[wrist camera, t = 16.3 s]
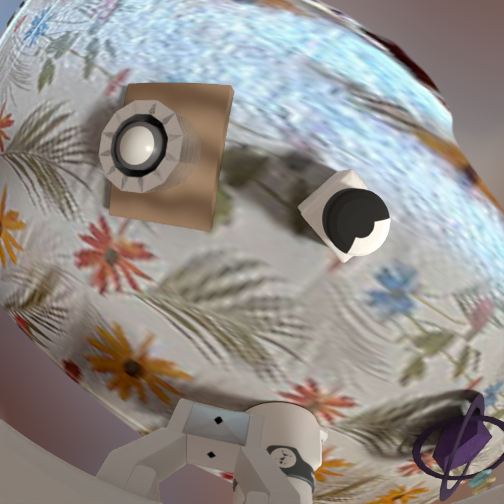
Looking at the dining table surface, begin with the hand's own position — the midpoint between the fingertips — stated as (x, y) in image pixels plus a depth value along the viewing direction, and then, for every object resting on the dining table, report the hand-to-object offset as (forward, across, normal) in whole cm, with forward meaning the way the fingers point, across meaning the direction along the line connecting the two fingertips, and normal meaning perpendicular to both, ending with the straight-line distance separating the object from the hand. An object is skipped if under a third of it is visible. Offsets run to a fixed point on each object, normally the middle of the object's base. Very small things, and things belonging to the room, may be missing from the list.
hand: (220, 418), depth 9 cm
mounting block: (+29, +14, -10) cm, 34 cm away
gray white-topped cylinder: (+26, +14, -10) cm, 31 cm away
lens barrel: (+27, +14, -10) cm, 32 cm away
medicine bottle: (+29, -8, -6) cm, 31 cm away
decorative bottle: (+29, -48, +32) cm, 65 cm away
